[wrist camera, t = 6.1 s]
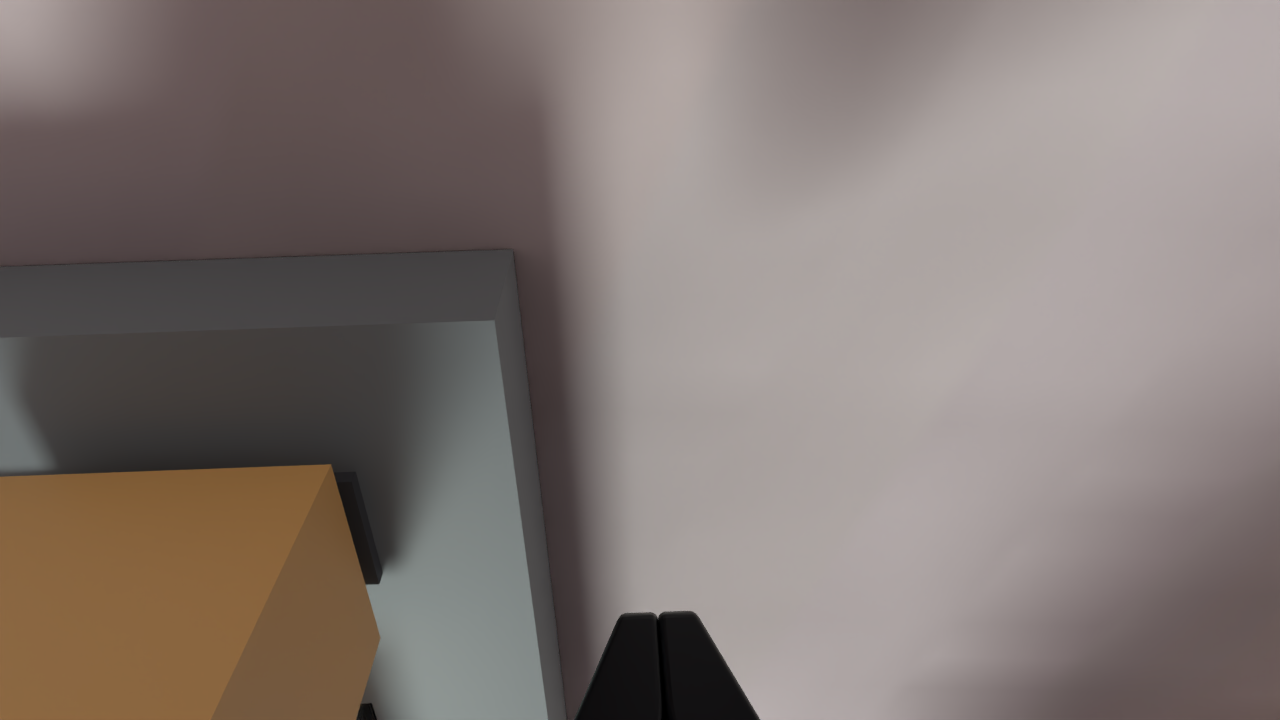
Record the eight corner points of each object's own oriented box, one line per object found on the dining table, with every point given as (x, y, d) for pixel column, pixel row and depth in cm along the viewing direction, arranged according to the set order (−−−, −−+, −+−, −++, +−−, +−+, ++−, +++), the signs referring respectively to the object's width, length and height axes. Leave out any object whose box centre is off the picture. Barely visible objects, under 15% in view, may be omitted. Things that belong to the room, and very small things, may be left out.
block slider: (331, 464, 9) (200, 741, 6) (380, 638, 11) (293, 926, 8) (-16, 477, 9) (-312, 763, 6) (83, 649, 11) (-117, 945, 8)
